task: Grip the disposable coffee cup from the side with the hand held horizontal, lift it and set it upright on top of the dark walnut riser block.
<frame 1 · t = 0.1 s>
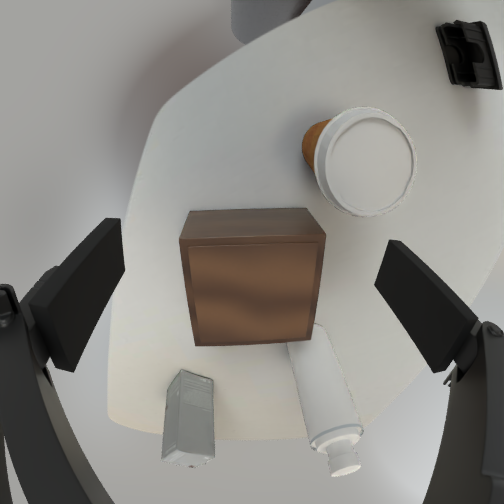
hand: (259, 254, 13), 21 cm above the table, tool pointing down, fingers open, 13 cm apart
spray bottle: (306, 337, 44), on the table
end cap: (457, 56, 25), on the table
walnut riser: (249, 261, 37), on the table
disposable coffee cup: (327, 147, 31), on the table
cosmetic box: (190, 385, 48), on the table
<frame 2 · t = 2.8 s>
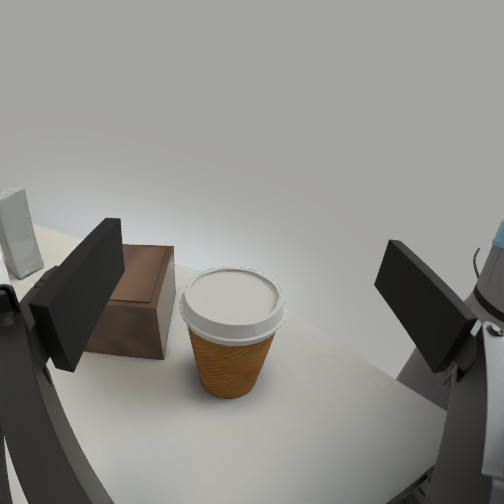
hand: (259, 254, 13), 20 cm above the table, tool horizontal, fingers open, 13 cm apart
walnut riser: (122, 318, 36), on the table
disposable coffee cup: (227, 377, 30), on the table
cosmetic box: (23, 268, 42), on the table
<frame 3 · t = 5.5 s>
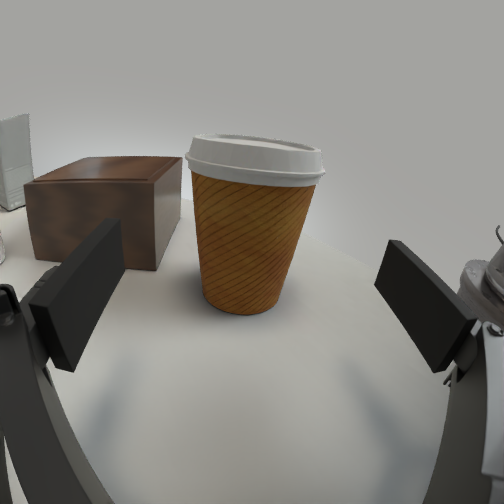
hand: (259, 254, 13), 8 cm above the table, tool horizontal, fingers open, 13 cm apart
walnut riser: (113, 235, 30), on the table
disposable coffee cup: (240, 293, 24), on the table
cosmetic box: (15, 204, 37), on the table
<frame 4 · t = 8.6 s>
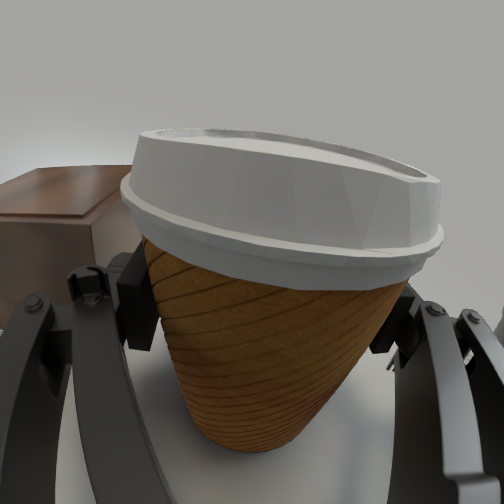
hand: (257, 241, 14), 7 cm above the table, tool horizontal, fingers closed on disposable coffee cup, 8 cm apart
walnut riser: (66, 280, 20), on the table
disposable coffee cup: (248, 401, 13), on the table, touching gripper
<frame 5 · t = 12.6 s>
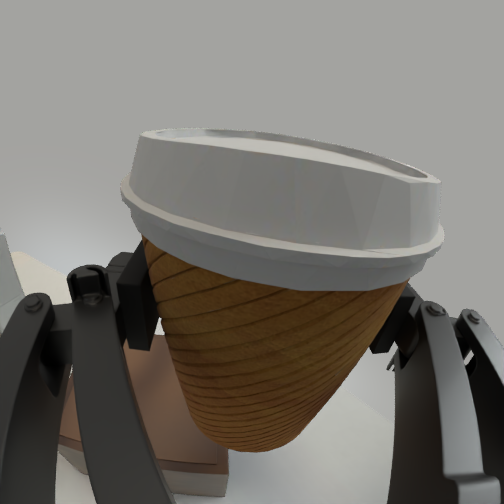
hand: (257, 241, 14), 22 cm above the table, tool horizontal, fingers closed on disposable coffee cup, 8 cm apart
walnut riser: (155, 431, 24), on the table
disposable coffee cup: (249, 402, 13), point 15 cm above the table, touching gripper
cosmetic box: (14, 328, 31), on the table
when the fingers open (15 cm above the table, at t = 16.6 s): disposable coffee cup stays where it is, resting on walnut riser.
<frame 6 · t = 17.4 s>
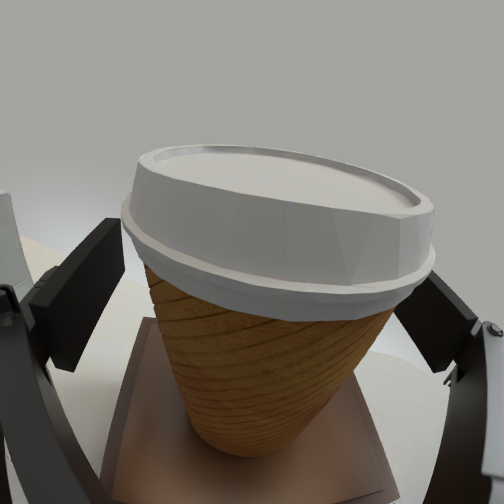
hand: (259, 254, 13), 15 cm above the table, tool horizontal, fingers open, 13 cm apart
walnut riser: (236, 458, 17), on the table
disposable coffee cup: (246, 408, 13), point 8 cm above the table, touching walnut riser
cosmetic box: (17, 325, 24), on the table
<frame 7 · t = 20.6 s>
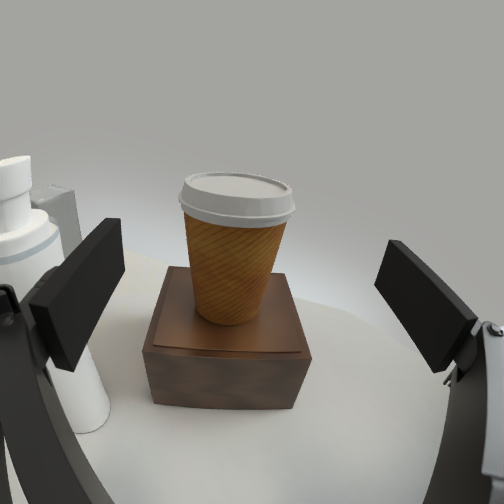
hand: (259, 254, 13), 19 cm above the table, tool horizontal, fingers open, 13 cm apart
spray bottle: (81, 407, 22), on the table
walnut riser: (223, 359, 31), on the table
disposable coffee cup: (227, 306, 28), point 8 cm above the table, touching walnut riser
cosmetic box: (64, 288, 38), on the table
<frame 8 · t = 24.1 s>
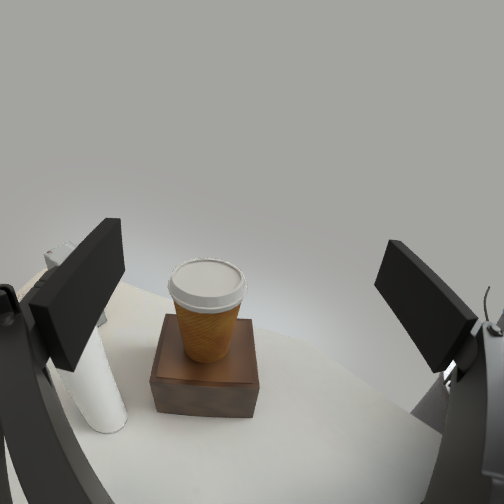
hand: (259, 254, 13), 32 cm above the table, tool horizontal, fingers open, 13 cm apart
spray bottle: (106, 415, 32), on the table
walnut riser: (206, 380, 42), on the table
disposable coffee cup: (206, 348, 39), point 8 cm above the table, touching walnut riser
cosmetic box: (83, 321, 49), on the table
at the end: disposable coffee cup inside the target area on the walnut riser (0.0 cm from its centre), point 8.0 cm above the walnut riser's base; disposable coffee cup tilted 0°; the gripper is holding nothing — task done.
